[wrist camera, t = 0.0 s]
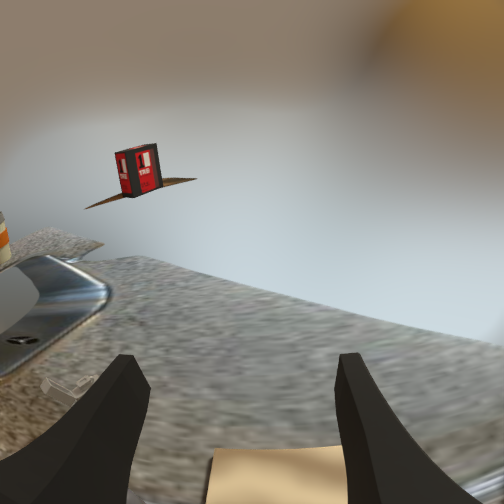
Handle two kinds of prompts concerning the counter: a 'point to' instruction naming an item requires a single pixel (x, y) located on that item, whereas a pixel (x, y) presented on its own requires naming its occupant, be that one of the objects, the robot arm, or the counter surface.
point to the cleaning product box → (139, 170)
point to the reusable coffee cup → (4, 241)
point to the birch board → (278, 476)
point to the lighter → (65, 394)
